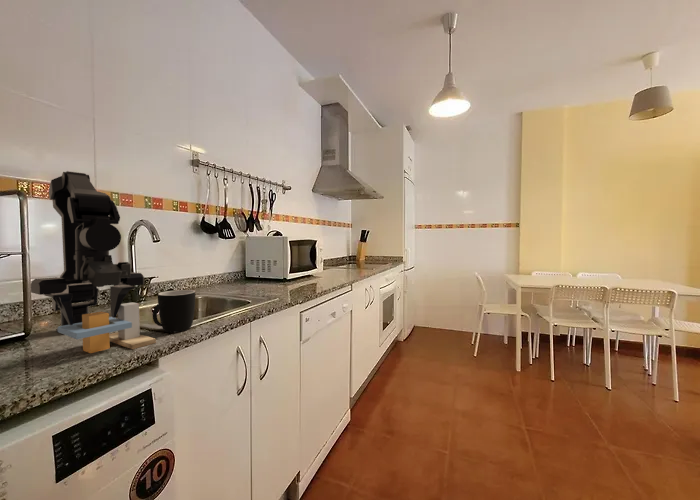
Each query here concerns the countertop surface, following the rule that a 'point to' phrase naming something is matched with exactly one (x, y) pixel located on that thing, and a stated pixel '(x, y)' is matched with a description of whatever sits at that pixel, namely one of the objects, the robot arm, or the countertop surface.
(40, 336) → the countertop surface
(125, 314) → the bracket
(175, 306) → the mug
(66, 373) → the countertop surface
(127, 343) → the board
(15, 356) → the countertop surface
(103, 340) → the orange square post
